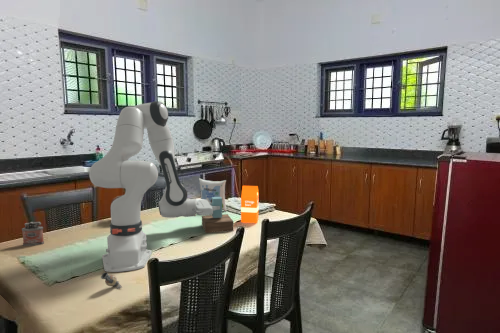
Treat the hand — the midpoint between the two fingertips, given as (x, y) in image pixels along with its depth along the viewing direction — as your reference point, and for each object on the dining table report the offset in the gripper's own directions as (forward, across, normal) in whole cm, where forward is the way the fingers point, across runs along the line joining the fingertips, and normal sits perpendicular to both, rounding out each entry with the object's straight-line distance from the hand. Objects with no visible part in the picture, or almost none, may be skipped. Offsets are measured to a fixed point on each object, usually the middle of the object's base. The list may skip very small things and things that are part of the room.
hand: (218, 206), depth 172 cm
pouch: (+3, +37, +12) cm, 39 cm away
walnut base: (-1, 0, +12) cm, 12 cm away
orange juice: (+19, +8, +12) cm, 24 cm away
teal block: (-1, 0, +6) cm, 6 cm away
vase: (-46, -56, +12) cm, 73 cm away
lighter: (-84, -3, +12) cm, 85 cm away
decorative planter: (-48, +27, +12) cm, 56 cm away
